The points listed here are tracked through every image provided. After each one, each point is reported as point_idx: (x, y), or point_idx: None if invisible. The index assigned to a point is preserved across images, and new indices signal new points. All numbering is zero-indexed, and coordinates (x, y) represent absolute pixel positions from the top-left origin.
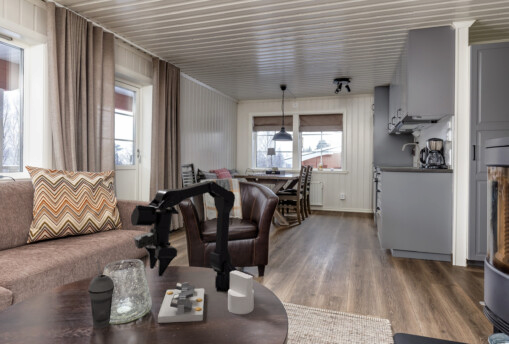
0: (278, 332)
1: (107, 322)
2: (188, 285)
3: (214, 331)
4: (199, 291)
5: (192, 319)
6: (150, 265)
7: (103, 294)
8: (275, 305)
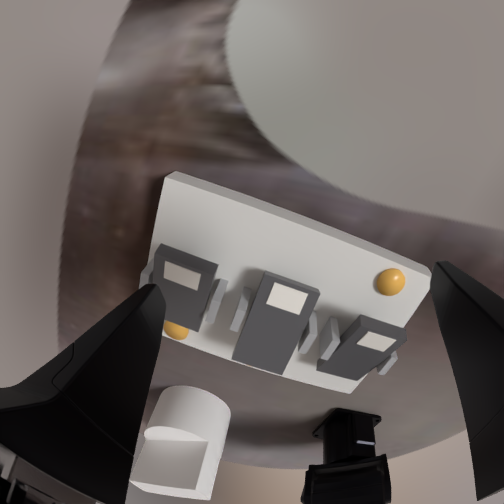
0: None
1: None
2: (365, 367)
3: (87, 312)
4: (333, 377)
5: None
6: (449, 278)
7: None
8: None
